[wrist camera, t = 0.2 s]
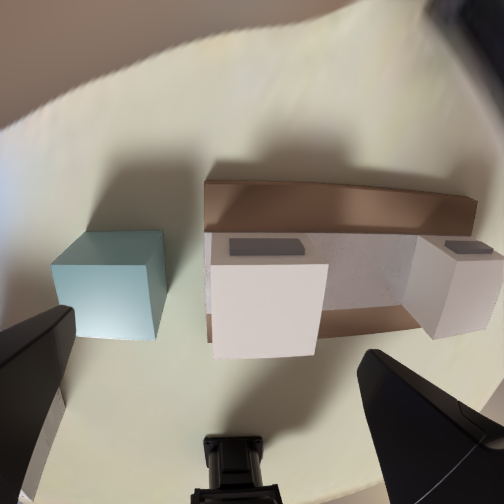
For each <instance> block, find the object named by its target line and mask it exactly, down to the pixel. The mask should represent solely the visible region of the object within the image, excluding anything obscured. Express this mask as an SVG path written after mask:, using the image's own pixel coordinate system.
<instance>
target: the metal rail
mask: <svg viewBox="0 0 504 504" xmlns="http://www.w3.org/2000/svg"><path fill="white" fill-rule="evenodd" d="M212 233H305V234H306V235H307V236H308V237H309V239H310V240H311V241H312V243H313V244H314V245H315V247H316V248H317V249H318V251H319V252H320V253H321V255H322V256H323V257H324V259H325V260H326V261H327V262H328V264H329V266H328V273H327V280H326V287H325V294H324V300H323V306H322V311H323V310H340V309H356V308H370V307H383V306H395V305H402V302H403V299H404V295H405V291H406V287H407V283H408V279H409V275H410V271H411V266H412V262H413V257H414V253H415V248H416V243H417V238H418V235H435V236H466V237H472V238H474V236H472V235H463V234H435V233H402V232H361V231H296V230H204V261H205V296H206V314H211V272H210V262H211V241H212Z"/></svg>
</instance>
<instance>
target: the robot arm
mask: <svg viewBox="0 0 504 504" xmlns="http://www.w3.org/2000/svg"><path fill="white" fill-rule="evenodd" d="M75 337H76V320H75V310H74V308H73V307H71V306H67V305H58V306H56V307H54V308H52V309H50V310H47V311H45V312H43V313H41V314H38V315H36V316H34V317H32V318H30V319H27V320H25V321H23V322H21V323H19V324H16V325H14V326H12V327H10V328H8V329H5V330H3V331H1V332H0V504H17V503H18V497H19V495H20V492H21V488H22V485H23V482H24V478H25V475H26V472H27V469H28V466H29V463H30V460H31V457H32V454H33V451H34V449H35V446H36V443H37V440H38V438H39V435H40V432H41V430H42V427H43V424H44V422H45V419H46V417H47V414H48V412H49V409H50V407H51V404H52V402H53V399H54V397H55V395H56V392H57V390H58V388H59V385H60V383H61V380H62V378H63V375H64V372H65V368H66V365H67V362H68V359H69V356H70V353H71V350H72V347H73V344H74V341H75ZM357 378H358V383H359V388H360V393H361V398H362V403H363V408H364V412H365V416H366V420H367V423H368V426H369V429H370V433H371V436H372V439H373V443H374V446H375V450H376V453H377V456H378V460H379V463H380V467H381V471H382V474H383V478H384V481H385V485H386V488H387V493H388V496H389V500H390V504H504V427H503V426H502V425H500V424H498V423H496V422H494V421H493V420H491V419H489V418H487V417H485V416H483V415H482V414H480V413H478V412H476V411H475V410H473V409H472V408H470V407H468V406H467V405H465V404H463V403H462V402H460V401H457V399H456V398H454V397H452V396H451V395H449V394H448V393H446V392H445V391H443V390H442V389H440V388H438V387H437V386H435V385H434V384H432V383H431V382H429V381H428V380H426V379H424V378H423V377H421V376H420V375H418V374H417V373H415V372H414V371H412V370H410V369H409V368H407V367H406V366H404V365H403V364H401V363H400V362H398V361H397V360H395V359H393V358H392V357H390V356H389V355H387V354H386V353H384V352H383V351H381V350H379V349H369V350H367V351H366V353H365V355H364V357H363V359H362V361H361V363H360V365H359V367H358V369H357ZM203 444H204V451H205V458H206V465H207V468H209V489H200V488H195V491H194V494H192V495H191V504H283V503H282V499H281V496H280V492H279V488H278V484H272V485H270V486H263V483H262V477H261V470H260V462H261V454H262V445H263V439H262V437H242V438H206V439H204V440H203Z"/></svg>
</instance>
